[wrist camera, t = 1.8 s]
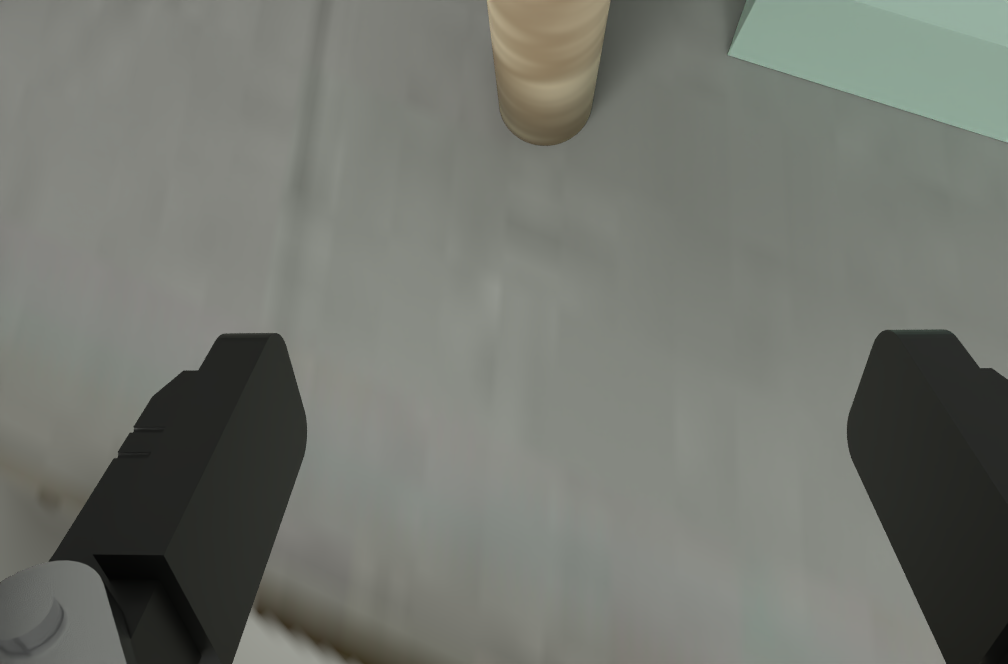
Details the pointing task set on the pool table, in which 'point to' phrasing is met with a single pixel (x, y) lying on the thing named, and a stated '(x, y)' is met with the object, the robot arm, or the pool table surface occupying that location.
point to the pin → (546, 64)
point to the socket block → (891, 53)
